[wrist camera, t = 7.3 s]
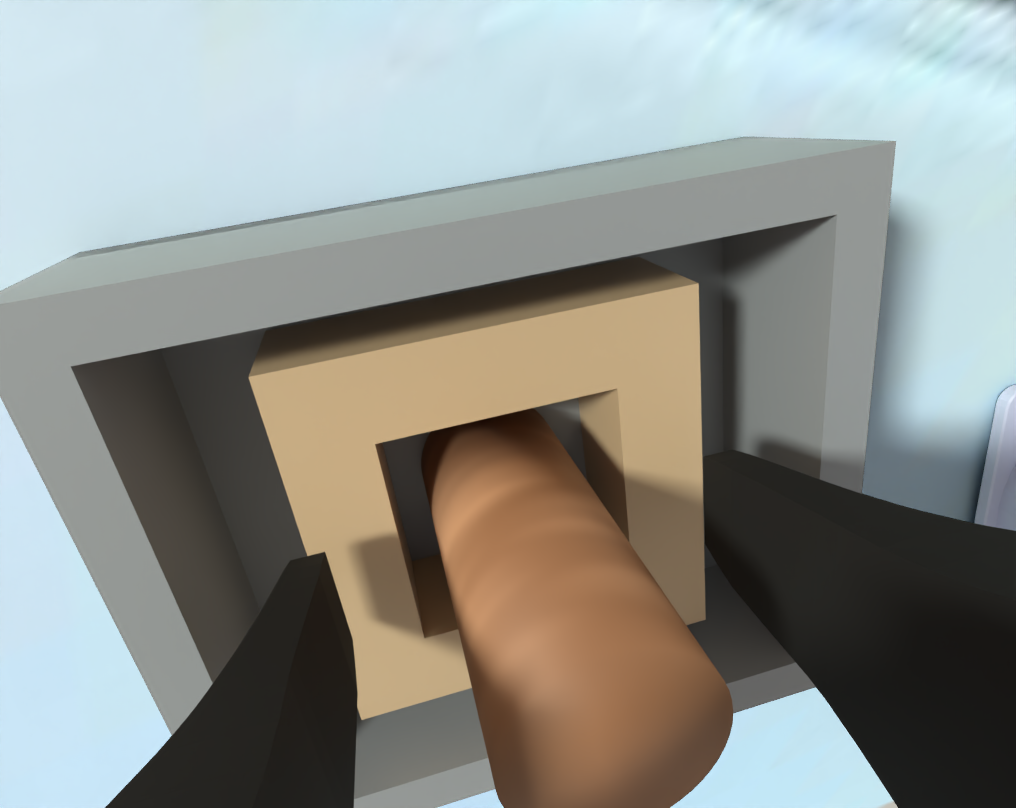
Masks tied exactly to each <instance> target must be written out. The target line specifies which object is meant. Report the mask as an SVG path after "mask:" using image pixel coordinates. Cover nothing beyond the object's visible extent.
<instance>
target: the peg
mask: <svg viewBox="0 0 1016 808" xmlns="http://www.w3.org/2000/svg"><path fill="white" fill-rule="evenodd" d="M421 470H422V476H423V480H424V485H425V489H426V493H427V497H428V502H429V506H430V510H431V515H432V519H433V523H434V527H435V532H436V536H437V540H438V545H439V549H440V553H441V558H442V562H443V566H444V570H445V575H446V579H447V583H448V588H449V592H450V596H451V600H452V605H453V609H454V613H455V618H456V622H457V626H458V631H459V635H460V639H461V643H462V648H463V652H464V656H465V661H466V665H467V669H468V673H469V678H470V682H471V686H472V691H473V695H474V699H475V704H476V708H477V712H478V716H479V721H480V725H481V729H482V734H483V738H484V742H485V746H486V751H487V755H488V759H489V764H490V768H491V772H492V777H493V781H494V785H495V789H496V792H497V795H498V798H499V800H500V802H501V804H502V805H503V807H504V808H670V807H671V806H672V805H674V804H675V803H677V802H678V801H680V800H681V799H682V798H683V797H685V796H686V795H687V794H688V793H689V792H691V791H692V790H693V789H694V788H695V787H696V786H697V785H698V784H699V783H700V782H701V781H702V780H703V779H704V777H705V776H706V775H707V774H708V773H709V772H710V770H711V769H712V768H713V766H714V765H715V763H716V762H717V760H718V759H719V757H720V755H721V753H722V752H723V750H724V748H725V746H726V743H727V740H728V738H729V735H730V731H731V727H732V722H733V704H732V698H731V695H730V691H729V689H728V687H727V685H726V683H725V681H724V679H723V678H722V677H721V675H720V674H719V672H718V671H717V669H716V668H715V666H714V665H713V663H712V662H711V661H710V659H709V658H708V656H707V655H706V653H705V652H704V650H703V649H702V647H701V646H700V645H699V643H698V642H697V640H696V639H695V637H694V636H693V634H692V633H691V631H690V630H689V629H688V627H687V626H686V624H685V623H684V621H683V620H682V618H681V617H680V615H679V614H678V613H677V611H676V610H675V608H674V607H673V605H672V604H671V602H670V601H669V599H668V598H667V597H666V595H665V594H664V592H663V591H662V589H661V588H660V586H659V585H658V583H657V582H656V581H655V579H654V578H653V576H652V575H651V573H650V572H649V570H648V569H647V567H646V566H645V565H644V563H643V562H642V560H641V559H640V557H639V556H638V554H637V553H636V551H635V550H634V549H633V547H632V546H631V544H630V543H629V541H628V540H627V538H626V537H625V535H624V534H623V533H622V531H621V530H620V528H619V527H618V525H617V524H616V522H615V521H614V519H613V518H612V517H611V515H610V514H609V512H608V511H607V509H606V508H605V506H604V505H603V503H602V502H601V501H600V499H599V498H598V496H597V495H596V493H595V492H594V490H593V489H592V487H591V486H590V485H589V483H588V482H587V480H586V479H585V477H584V476H583V474H582V473H581V471H580V470H579V469H578V467H577V466H576V464H575V463H574V461H573V460H572V458H571V457H570V455H569V454H568V453H567V451H566V450H565V448H564V447H563V445H562V444H561V442H560V441H559V439H558V438H557V437H556V435H555V434H554V432H553V431H552V429H551V428H550V426H549V425H548V423H547V422H546V421H545V419H544V418H543V417H542V416H541V415H540V414H539V413H538V412H537V411H536V410H535V409H534V408H530V409H526V410H522V411H517V412H513V413H508V414H504V415H500V416H495V417H491V418H487V419H482V420H478V421H474V422H469V423H465V424H461V425H456V426H452V427H448V428H443V429H439V430H434V431H431V432H430V434H429V436H428V438H427V440H426V442H425V445H424V448H423V452H422V458H421Z"/></svg>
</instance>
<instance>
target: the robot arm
mask: <svg viewBox="0 0 1016 808" xmlns="http://www.w3.org/2000/svg"><path fill="white" fill-rule="evenodd" d="M703 479H704V528H705V545H706V547H707V548H708V550H709V552H710V553H711V555H712V557H713V558H714V560H715V561H716V563H717V565H718V566H719V568H720V569H721V571H722V573H723V574H724V576H725V577H726V579H727V580H728V582H729V583H730V585H731V586H732V587H733V589H734V590H735V591H736V592H737V594H738V595H739V596H740V597H741V598H742V600H743V601H744V602H745V603H746V604H747V606H748V607H749V608H750V609H751V610H752V612H753V613H754V614H755V615H756V616H757V618H758V619H759V620H760V621H761V622H762V623H763V625H764V626H765V627H766V628H767V629H768V630H769V632H770V633H771V634H772V635H773V636H774V638H775V639H776V640H777V641H778V642H779V643H780V645H781V646H782V647H783V648H784V649H785V650H786V652H787V653H788V654H789V655H790V656H791V657H792V659H793V660H794V661H795V662H796V663H797V664H798V666H799V667H800V668H801V669H802V670H803V672H804V673H805V674H806V675H807V676H808V677H809V679H810V680H811V681H812V683H813V684H814V685H815V686H816V688H817V689H818V690H819V691H820V693H821V694H822V695H823V697H824V698H825V699H826V701H827V702H828V703H829V705H830V706H831V708H832V709H833V711H834V712H835V714H836V715H837V716H838V718H839V719H840V721H841V722H842V724H843V725H844V727H845V728H846V729H847V731H848V732H849V734H850V735H851V737H852V738H853V740H854V741H855V742H856V744H857V745H858V747H859V748H860V750H861V751H862V753H863V754H864V756H865V758H866V759H867V761H868V762H869V764H870V765H871V767H872V768H873V770H874V771H875V773H876V774H877V776H878V777H879V779H880V780H881V782H882V783H883V785H884V787H885V788H886V790H887V791H888V793H889V794H890V796H891V797H892V799H893V800H894V802H895V804H896V805H897V807H898V808H1016V385H1013V386H1010V387H1008V388H1006V389H1005V390H1004V391H1003V392H1002V393H1001V394H1000V396H999V397H998V400H997V402H996V407H995V413H994V418H993V423H992V429H991V434H990V440H989V445H988V451H987V456H986V461H985V467H984V472H983V478H982V483H981V488H980V494H979V499H978V505H977V510H976V515H975V521H974V523H971V522H966V521H961V520H957V519H953V518H949V517H944V516H940V515H936V514H932V513H928V512H923V511H919V510H916V509H912V508H908V507H904V506H901V505H897V504H894V503H891V502H887V501H884V500H881V499H878V498H874V497H871V496H868V495H864V494H861V493H858V492H855V491H852V490H849V489H846V488H843V487H840V486H837V485H834V484H831V483H829V482H826V481H823V480H820V479H817V478H814V477H812V476H809V475H806V474H803V473H801V472H798V471H795V470H792V469H790V468H787V467H784V466H781V465H779V464H776V463H773V462H770V461H768V460H765V459H762V458H759V457H756V456H753V455H750V454H747V453H744V452H740V451H736V450H728V451H724V452H720V453H716V454H712V455H708V456H704V457H703ZM357 697H358V692H357V679H356V667H355V657H354V646H353V639H352V635H351V632H350V629H349V626H348V623H347V620H346V616H345V613H344V610H343V607H342V604H341V601H340V597H339V594H338V591H337V588H336V585H335V581H334V578H333V575H332V572H331V569H330V566H329V562H328V559H327V556H326V553H325V552H322V553H318V554H314V555H310V556H306V557H302V558H298V559H294V560H290V561H289V563H288V564H287V566H286V567H285V569H284V570H283V572H282V574H281V576H280V577H279V579H278V581H277V583H276V584H275V586H274V588H273V590H272V591H271V593H270V595H269V597H268V598H267V600H266V602H265V603H264V605H263V607H262V609H261V610H260V612H259V614H258V615H257V617H256V619H255V620H254V622H253V623H252V625H251V627H250V628H249V630H248V631H247V633H246V635H245V636H244V638H243V639H242V641H241V643H240V644H239V646H238V647H237V649H236V651H235V652H234V654H233V655H232V657H231V658H230V659H229V661H228V662H227V664H226V665H225V667H224V668H223V669H222V671H221V672H220V674H219V675H218V677H217V678H216V679H215V681H214V682H213V684H212V685H211V687H210V688H209V689H208V691H207V692H206V694H205V695H204V696H203V698H202V699H201V700H200V702H199V703H198V704H197V706H196V707H195V708H194V710H193V711H192V712H191V713H190V715H189V716H188V717H187V718H186V719H185V721H184V722H183V723H182V724H181V725H180V727H179V728H178V729H177V730H176V731H175V733H174V734H173V735H172V736H171V737H170V739H169V740H168V741H167V742H166V743H165V744H164V746H163V747H162V748H161V749H160V750H159V751H158V752H157V754H156V755H155V756H154V757H153V758H152V759H151V760H150V761H149V762H148V763H147V764H146V765H145V766H144V767H143V768H142V769H141V770H140V772H139V773H138V774H137V775H136V776H135V777H134V778H133V779H132V780H131V781H130V782H129V783H128V784H127V785H126V786H125V787H124V788H123V789H122V790H121V792H120V793H119V794H118V795H117V796H116V797H115V798H114V799H113V800H112V801H111V802H110V803H109V804H108V805H107V806H106V807H105V808H354V786H355V759H356V731H357Z"/></svg>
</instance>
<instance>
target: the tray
mask: <svg viewBox="0 0 1016 808" xmlns="http://www.w3.org/2000/svg"><path fill="white" fill-rule="evenodd" d="M895 146H896V141H875V140H841V139H807V138H773V137H740V138H734V139H728V140H722V141H717V142H711V143H705V144H699V145H694V146H688V147H682V148H676V149H671V150H665V151H659V152H653V153H648V154H642V155H636V156H630V157H625V158H619V159H613V160H607V161H602V162H596V163H590V164H584V165H579V166H573V167H567V168H561V169H556V170H550V171H544V172H538V173H533V174H527V175H521V176H515V177H510V178H504V179H498V180H492V181H487V182H481V183H475V184H469V185H464V186H458V187H452V188H446V189H441V190H435V191H429V192H423V193H418V194H412V195H406V196H400V197H395V198H389V199H383V200H377V201H372V202H366V203H360V204H354V205H349V206H343V207H337V208H331V209H326V210H320V211H314V212H309V213H303V214H297V215H291V216H286V217H280V218H274V219H268V220H263V221H257V222H251V223H245V224H240V225H234V226H228V227H222V228H217V229H211V230H205V231H199V232H194V233H188V234H182V235H176V236H171V237H165V238H159V239H153V240H148V241H142V242H136V243H130V244H125V245H119V246H113V247H107V248H102V249H96V250H90V251H84V252H79V253H77V254H75V255H73V256H71V257H69V258H67V259H65V260H63V261H61V262H59V263H57V264H55V265H53V266H51V267H48V268H46V269H44V270H42V271H40V272H38V273H36V274H34V275H32V276H30V277H28V278H26V279H24V280H22V281H20V282H18V283H16V284H14V285H12V286H10V287H8V288H5V289H3V290H1V291H0V397H1V399H2V401H3V403H4V405H5V407H6V409H7V411H8V413H9V415H10V417H11V419H12V421H13V423H14V425H15V427H16V429H17V431H18V433H19V434H20V436H21V438H22V440H23V442H24V444H25V446H26V448H27V450H28V452H29V454H30V456H31V458H32V460H33V462H34V464H35V466H36V468H37V470H38V472H39V474H40V476H41V478H42V480H43V482H44V484H45V486H46V488H47V490H48V492H49V494H50V496H51V498H52V500H53V502H54V504H55V506H56V508H57V510H58V511H59V513H60V515H61V517H62V519H63V521H64V523H65V525H66V527H67V529H68V531H69V533H70V535H71V537H72V539H73V541H74V543H75V545H76V547H77V549H78V551H79V553H80V555H81V557H82V559H83V561H84V563H85V565H86V567H87V569H88V571H89V573H90V575H91V577H92V579H93V581H94V583H95V585H96V587H97V588H98V590H99V592H100V594H101V596H102V598H103V600H104V602H105V604H106V606H107V608H108V610H109V612H110V614H111V616H112V618H113V620H114V622H115V624H116V626H117V628H118V630H119V632H120V634H121V636H122V638H123V640H124V642H125V644H126V646H127V648H128V650H129V652H130V654H131V656H132V658H133V660H134V662H135V664H136V665H137V667H138V669H139V671H140V673H141V675H142V677H143V679H144V681H145V683H146V685H147V687H148V689H149V691H150V693H151V695H152V697H153V699H154V701H155V703H156V705H157V707H158V709H159V711H160V713H161V715H162V717H163V719H164V721H165V723H166V725H167V727H168V729H169V731H170V733H171V735H173V734H174V733H175V731H176V730H177V729H178V728H179V727H180V725H181V724H182V723H183V722H184V721H185V719H186V718H187V717H188V716H189V715H190V713H191V712H192V711H193V710H194V708H195V707H196V706H197V704H198V703H199V702H200V700H201V699H202V698H203V696H204V695H205V694H206V692H207V691H208V689H209V688H210V687H211V685H212V684H213V682H214V681H215V679H216V678H217V677H218V675H219V674H220V672H221V671H222V669H223V668H224V667H225V665H226V664H227V662H228V661H229V659H230V658H231V657H232V655H233V654H234V652H235V651H236V649H237V647H238V646H239V644H240V643H241V641H242V639H243V638H244V636H245V635H246V633H247V631H248V630H249V628H250V627H251V625H252V623H253V622H254V620H255V619H256V617H257V615H258V614H259V612H260V610H261V609H262V607H263V605H264V603H265V602H266V600H267V598H268V597H269V595H270V593H271V591H272V590H273V588H274V586H275V584H276V583H277V581H278V579H279V577H280V576H281V574H282V572H283V570H284V569H285V567H286V566H287V564H288V563H289V561H290V560H294V559H298V558H302V557H306V556H310V555H314V554H318V553H322V552H325V553H326V556H327V559H328V562H329V566H330V569H331V572H332V575H333V578H334V581H335V585H336V588H337V591H338V594H339V597H340V601H341V604H342V607H343V610H344V613H345V616H346V620H347V623H348V626H349V629H350V632H351V635H352V639H353V646H354V657H355V667H356V679H357V692H358V697H357V731H356V759H355V786H354V808H437V807H440V806H443V805H446V804H449V803H452V802H455V801H459V800H462V799H465V798H468V797H471V796H474V795H478V794H481V793H484V792H487V791H490V790H493V789H495V785H494V781H493V777H492V772H491V768H490V764H489V759H488V755H487V751H486V746H485V742H484V738H483V734H482V729H481V725H480V721H479V716H478V712H477V708H476V704H475V699H474V695H473V691H472V686H471V682H470V678H469V673H468V669H467V665H466V661H465V656H464V652H463V648H462V643H461V639H460V635H459V631H458V626H457V622H456V618H455V613H454V609H453V605H452V600H451V596H450V592H449V588H448V583H447V579H446V575H445V570H444V566H443V562H442V558H441V553H440V549H439V545H438V540H437V536H436V532H435V527H434V523H433V519H432V515H431V510H430V506H429V502H428V497H427V493H426V489H425V485H424V480H423V476H422V470H421V458H422V452H423V448H424V445H425V442H426V440H427V438H428V436H429V434H430V432H431V431H434V430H439V429H443V428H448V427H452V426H456V425H461V424H465V423H469V422H474V421H478V420H482V419H487V418H491V417H495V416H500V415H504V414H508V413H513V412H517V411H522V410H526V409H530V408H534V409H535V410H536V411H537V412H538V413H539V414H540V415H541V416H542V417H543V418H544V419H545V421H546V422H547V423H548V425H549V426H550V428H551V429H552V431H553V432H554V434H555V435H556V437H557V438H558V439H559V441H560V442H561V444H562V445H563V447H564V448H565V450H566V451H567V453H568V454H569V455H570V457H571V458H572V460H573V461H574V463H575V464H576V466H577V467H578V469H579V470H580V471H581V473H582V474H583V476H584V477H585V479H586V480H587V482H588V483H589V485H590V486H591V487H592V489H593V490H594V492H595V493H596V495H597V496H598V498H599V499H600V501H601V502H602V503H603V505H604V506H605V508H606V509H607V511H608V512H609V514H610V515H611V517H612V518H613V519H614V521H615V522H616V524H617V525H618V527H619V528H620V530H621V531H622V533H623V534H624V535H625V537H626V538H627V540H628V541H629V543H630V544H631V546H632V547H633V549H634V550H635V551H636V553H637V554H638V556H639V557H640V559H641V560H642V562H643V563H644V565H645V566H646V567H647V569H648V570H649V572H650V573H651V575H652V576H653V578H654V579H655V581H656V582H657V583H658V585H659V586H660V588H661V589H662V591H663V592H664V594H665V595H666V597H667V598H668V599H669V601H670V602H671V604H672V605H673V607H674V608H675V610H676V611H677V613H678V614H679V615H680V617H681V618H682V620H683V621H684V623H685V624H686V626H687V627H688V629H689V630H690V631H691V633H692V634H693V636H694V637H695V639H696V640H697V642H698V643H699V645H700V646H701V647H702V649H703V650H704V652H705V653H706V655H707V656H708V658H709V659H710V661H711V662H712V663H713V665H714V666H715V668H716V669H717V671H718V672H719V674H720V675H721V677H722V678H723V679H724V681H725V683H726V685H727V687H728V689H729V691H730V695H731V698H732V704H733V713H736V712H739V711H742V710H745V709H748V708H752V707H755V706H758V705H761V704H764V703H767V702H770V701H774V700H777V699H780V698H783V697H786V696H789V695H792V694H796V693H799V692H802V691H805V690H808V689H811V688H815V687H816V686H815V685H814V684H813V683H812V681H811V680H810V679H809V677H808V676H807V675H806V674H805V673H804V672H803V670H802V669H801V668H800V667H799V666H798V664H797V663H796V662H795V661H794V660H793V659H792V657H791V656H790V655H789V654H788V653H787V652H786V650H785V649H784V648H783V647H782V646H781V645H780V643H779V642H778V641H777V640H776V639H775V638H774V636H773V635H772V634H771V633H770V632H769V630H768V629H767V628H766V627H765V626H764V625H763V623H762V622H761V621H760V620H759V619H758V618H757V616H756V615H755V614H754V613H753V612H752V610H751V609H750V608H749V607H748V606H747V604H746V603H745V602H744V601H743V600H742V598H741V597H740V596H739V595H738V594H737V592H736V591H735V590H734V589H733V587H732V586H731V585H730V583H729V582H728V580H727V579H726V577H725V576H724V574H723V573H722V571H721V569H720V568H719V566H718V565H717V563H716V561H715V560H714V558H713V557H712V555H711V553H710V552H709V550H708V548H707V547H706V545H705V528H704V479H703V457H704V456H708V455H712V454H716V453H720V452H724V451H728V450H736V451H740V452H744V453H747V454H750V455H753V456H756V457H759V458H762V459H765V460H768V461H770V462H773V463H776V464H779V465H781V466H784V467H787V468H790V469H792V470H795V471H798V472H801V473H803V474H806V475H809V476H812V477H814V478H817V479H820V480H823V481H826V482H829V483H831V484H834V485H837V486H840V487H843V488H846V489H849V490H852V491H855V492H858V493H861V494H862V485H863V475H864V465H865V454H866V444H867V434H868V424H869V413H870V403H871V393H872V382H873V372H874V362H875V352H876V341H877V331H878V321H879V310H880V300H881V290H882V280H883V269H884V259H885V249H886V238H887V228H888V218H889V208H890V197H891V187H892V177H893V166H894V156H895Z"/></svg>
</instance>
